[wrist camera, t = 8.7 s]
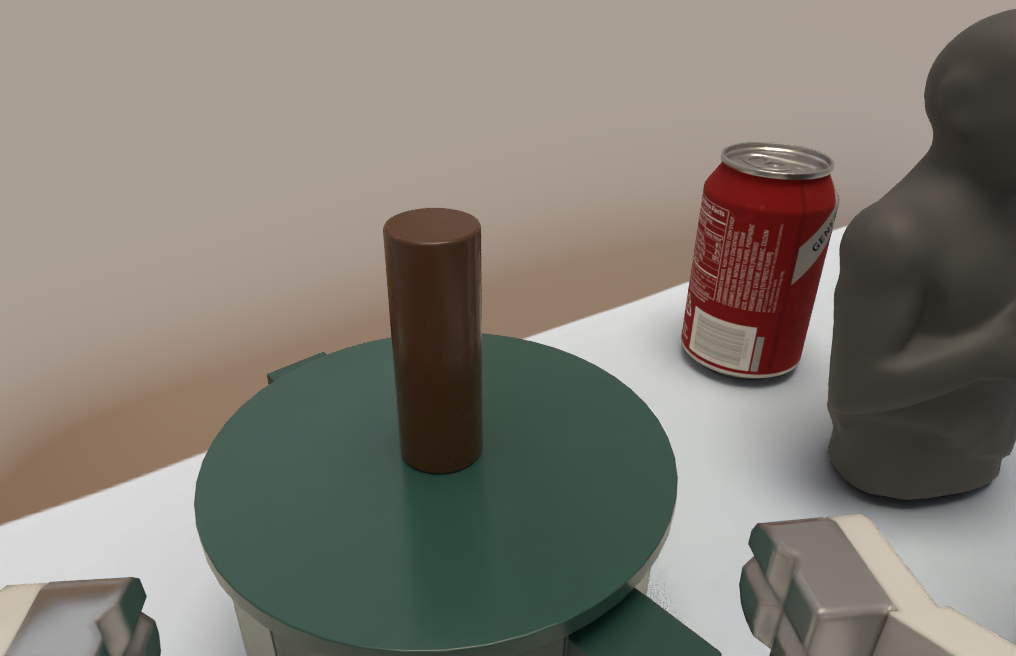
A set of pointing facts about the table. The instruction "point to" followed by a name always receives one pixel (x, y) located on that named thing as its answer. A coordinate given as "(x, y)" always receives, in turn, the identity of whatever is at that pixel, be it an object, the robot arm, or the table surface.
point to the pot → (587, 652)
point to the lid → (436, 479)
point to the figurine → (935, 293)
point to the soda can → (759, 258)
